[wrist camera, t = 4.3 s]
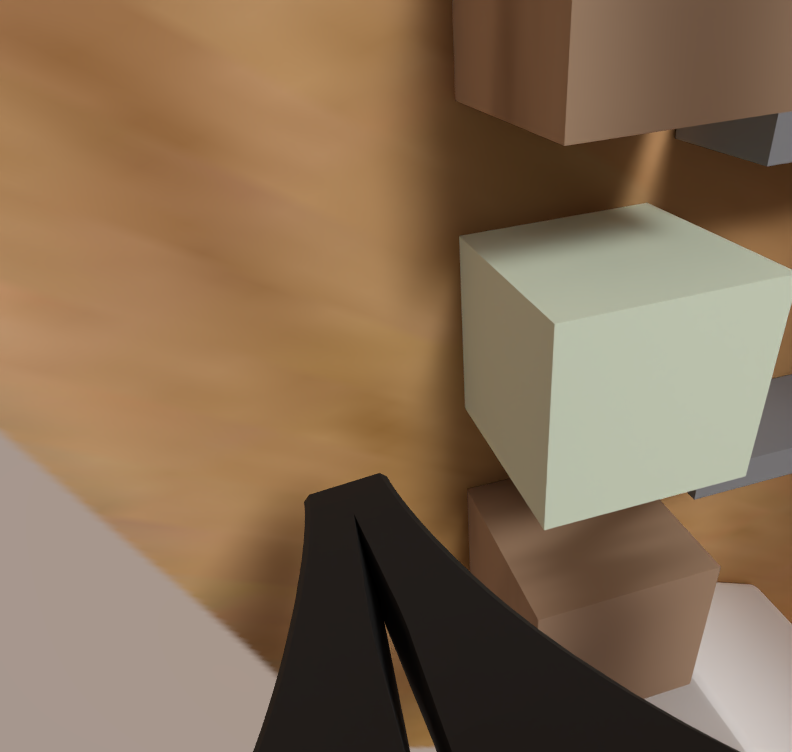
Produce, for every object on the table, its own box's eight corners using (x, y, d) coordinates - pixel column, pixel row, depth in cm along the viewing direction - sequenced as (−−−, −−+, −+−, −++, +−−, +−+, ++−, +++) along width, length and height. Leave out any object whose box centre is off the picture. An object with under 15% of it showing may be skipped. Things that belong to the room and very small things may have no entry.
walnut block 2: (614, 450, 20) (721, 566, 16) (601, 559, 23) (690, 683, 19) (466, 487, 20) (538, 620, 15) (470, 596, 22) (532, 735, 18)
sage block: (645, 201, 16) (799, 273, 12) (624, 370, 19) (745, 476, 15) (457, 234, 15) (554, 324, 11) (464, 406, 18) (544, 530, 14)
